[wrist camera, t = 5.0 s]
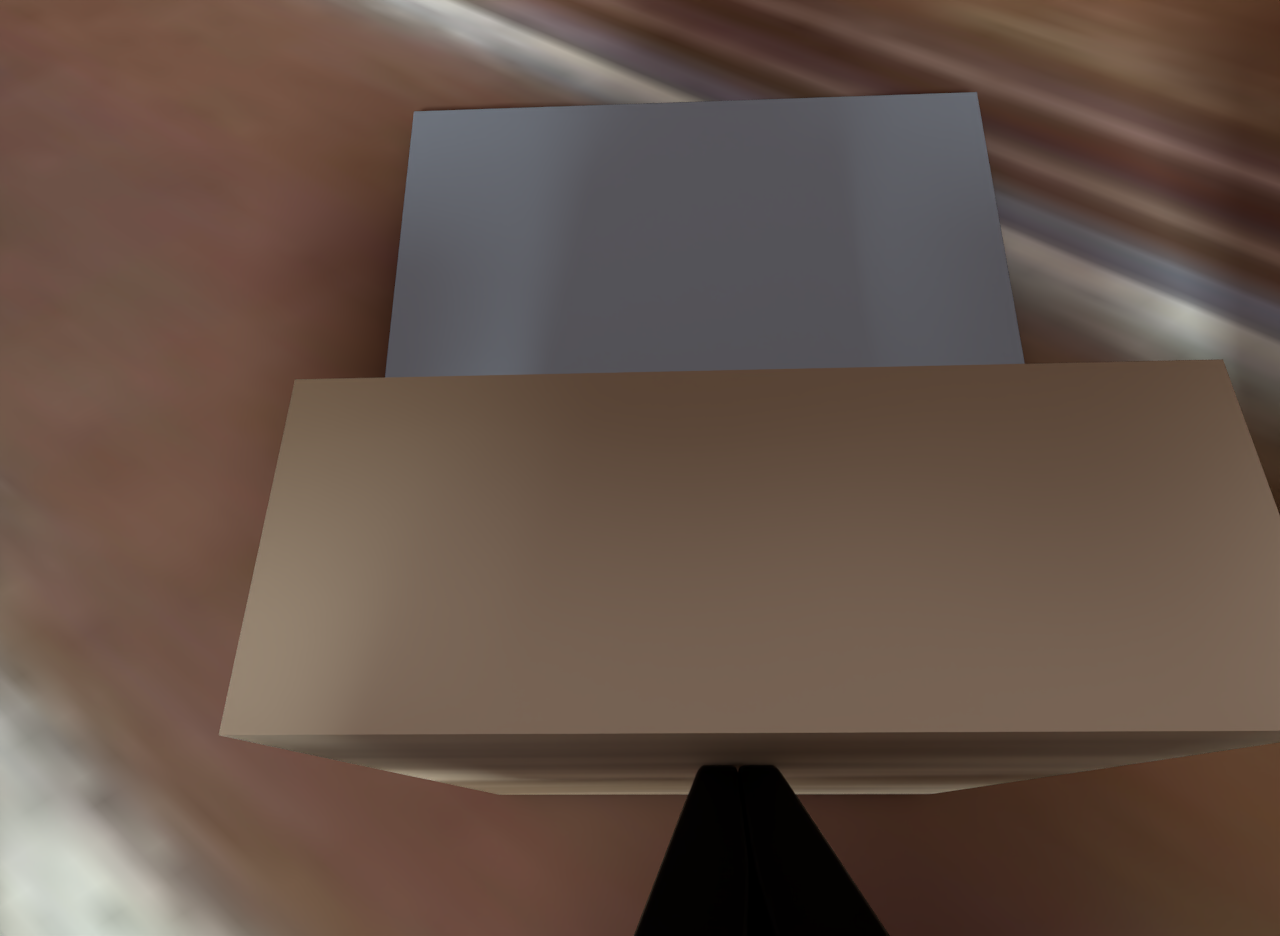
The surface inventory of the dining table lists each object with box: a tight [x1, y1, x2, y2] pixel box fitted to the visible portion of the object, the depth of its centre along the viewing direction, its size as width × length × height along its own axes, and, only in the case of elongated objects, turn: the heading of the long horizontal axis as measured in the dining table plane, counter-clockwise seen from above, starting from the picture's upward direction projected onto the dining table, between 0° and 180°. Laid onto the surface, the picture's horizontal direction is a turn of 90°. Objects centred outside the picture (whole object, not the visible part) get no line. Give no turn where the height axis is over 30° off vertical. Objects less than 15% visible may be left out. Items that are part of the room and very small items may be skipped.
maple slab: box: [219, 360, 1280, 795], centre depth 11 cm, size 3×8×10 cm, turn 90°
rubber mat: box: [385, 92, 1025, 377], centre depth 18 cm, size 12×14×1 cm
